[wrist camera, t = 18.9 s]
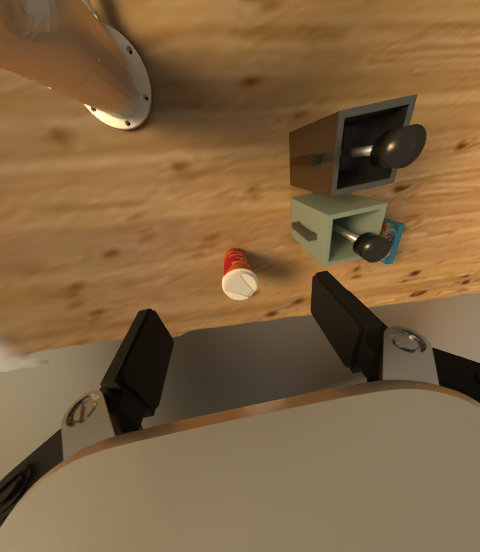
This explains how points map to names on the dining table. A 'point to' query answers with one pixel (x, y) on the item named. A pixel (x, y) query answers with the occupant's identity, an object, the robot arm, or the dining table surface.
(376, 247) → the glossy black knobbed rod
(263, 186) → the dining table surface
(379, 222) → the green press
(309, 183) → the box
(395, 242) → the blue cardboard box
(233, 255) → the coffee cup
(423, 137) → the charcoal plunger
